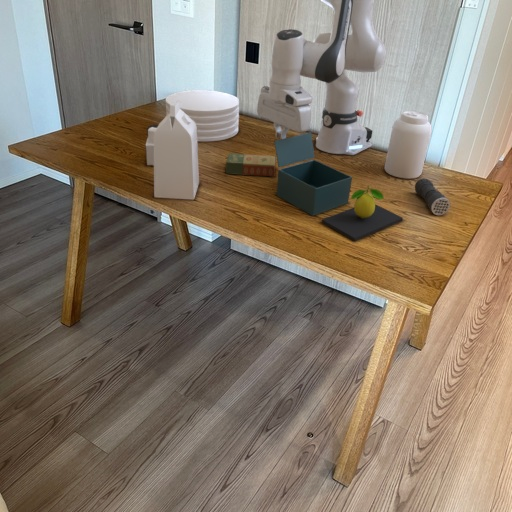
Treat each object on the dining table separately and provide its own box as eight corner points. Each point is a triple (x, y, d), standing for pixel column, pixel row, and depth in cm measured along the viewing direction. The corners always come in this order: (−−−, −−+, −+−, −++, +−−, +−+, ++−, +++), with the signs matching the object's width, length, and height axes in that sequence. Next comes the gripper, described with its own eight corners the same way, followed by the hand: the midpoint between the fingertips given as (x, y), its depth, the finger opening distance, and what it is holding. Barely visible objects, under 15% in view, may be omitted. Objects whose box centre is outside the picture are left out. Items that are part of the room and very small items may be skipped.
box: (276, 195, 149) (278, 169, 145) (311, 184, 157) (314, 159, 153) (312, 215, 139) (316, 188, 135) (347, 203, 147) (352, 177, 143)
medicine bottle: (148, 157, 169) (146, 122, 163) (170, 157, 170) (168, 123, 163) (146, 165, 163) (144, 129, 157) (168, 165, 164) (167, 130, 157)
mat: (369, 204, 147) (369, 201, 147) (402, 220, 140) (402, 217, 139) (321, 222, 136) (321, 219, 136) (354, 241, 129) (354, 238, 128)
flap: (279, 167, 144) (278, 167, 145) (314, 157, 152) (314, 157, 153) (274, 140, 142) (274, 140, 143) (311, 132, 150) (310, 132, 150)
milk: (162, 180, 154) (157, 95, 140) (199, 182, 154) (198, 97, 140) (154, 197, 144) (148, 107, 130) (193, 199, 144) (192, 110, 130)
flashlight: (411, 192, 156) (415, 176, 153) (427, 192, 157) (432, 176, 154) (429, 215, 143) (434, 198, 140) (447, 215, 144) (452, 198, 141)
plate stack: (236, 143, 185) (237, 112, 179) (161, 139, 184) (159, 108, 178) (239, 120, 208) (240, 92, 202) (172, 116, 208) (171, 88, 202)
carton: (274, 177, 160) (275, 165, 158) (225, 173, 161) (225, 161, 159) (275, 167, 167) (276, 155, 165) (228, 163, 168) (228, 151, 166)
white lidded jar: (376, 171, 169) (388, 112, 158) (395, 162, 177) (407, 105, 166) (409, 182, 162) (424, 122, 151) (427, 172, 170) (442, 114, 159)
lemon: (379, 220, 137) (386, 187, 131) (363, 226, 134) (370, 192, 128) (362, 211, 141) (368, 178, 136) (346, 215, 138) (352, 182, 133)
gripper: (253, 84, 148) (251, 130, 156) (300, 102, 135) (295, 150, 143) (269, 82, 152) (266, 127, 159) (316, 99, 139) (311, 146, 146)
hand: (280, 138), depth 151 cm, fingers closed
